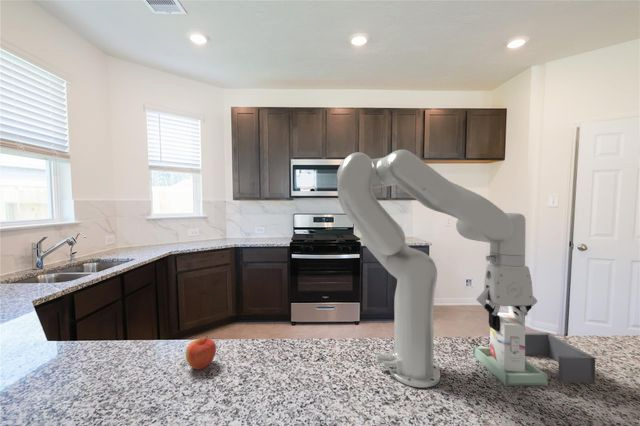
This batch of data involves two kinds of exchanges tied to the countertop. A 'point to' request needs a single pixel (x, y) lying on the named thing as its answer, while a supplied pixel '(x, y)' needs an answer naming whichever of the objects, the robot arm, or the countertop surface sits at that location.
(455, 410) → the countertop surface
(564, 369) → the bracket
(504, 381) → the tray
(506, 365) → the ink cartridge box
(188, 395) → the countertop surface
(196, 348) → the apple
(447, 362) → the countertop surface
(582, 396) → the countertop surface
